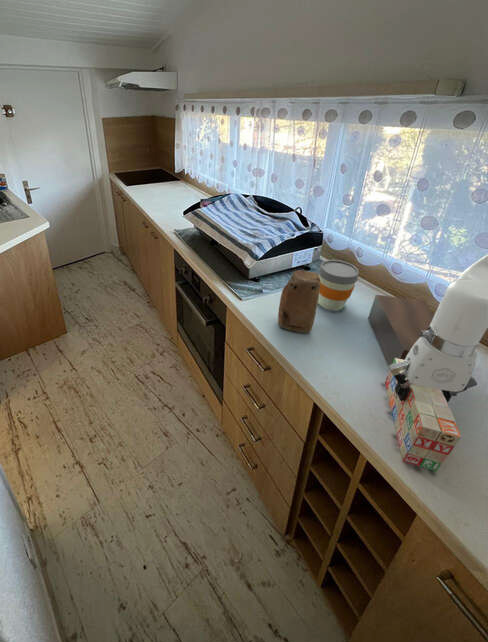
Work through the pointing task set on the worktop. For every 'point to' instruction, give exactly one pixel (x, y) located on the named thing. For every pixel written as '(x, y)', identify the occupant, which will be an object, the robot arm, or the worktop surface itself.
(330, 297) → the reusable coffee cup
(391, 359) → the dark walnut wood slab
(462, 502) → the worktop surface
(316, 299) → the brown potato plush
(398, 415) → the stack of blocks
